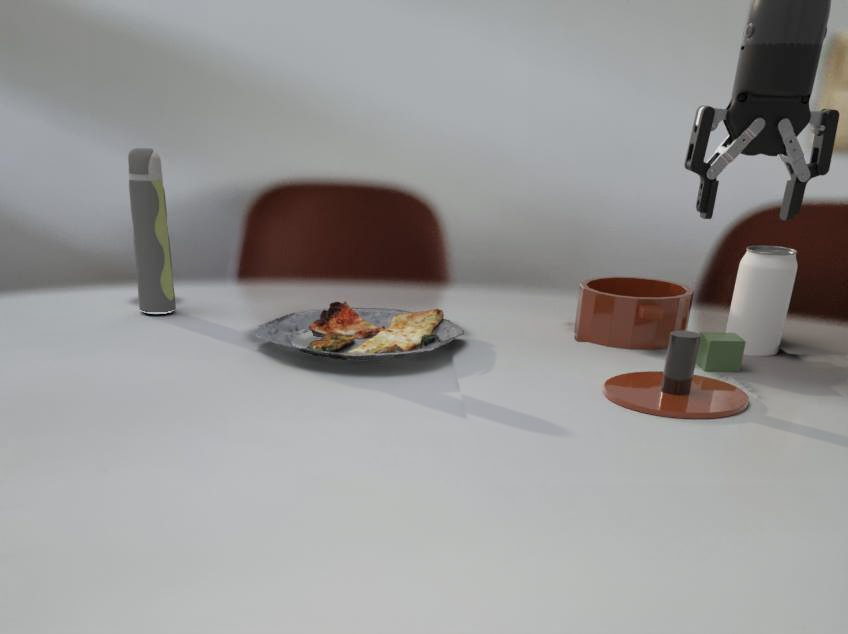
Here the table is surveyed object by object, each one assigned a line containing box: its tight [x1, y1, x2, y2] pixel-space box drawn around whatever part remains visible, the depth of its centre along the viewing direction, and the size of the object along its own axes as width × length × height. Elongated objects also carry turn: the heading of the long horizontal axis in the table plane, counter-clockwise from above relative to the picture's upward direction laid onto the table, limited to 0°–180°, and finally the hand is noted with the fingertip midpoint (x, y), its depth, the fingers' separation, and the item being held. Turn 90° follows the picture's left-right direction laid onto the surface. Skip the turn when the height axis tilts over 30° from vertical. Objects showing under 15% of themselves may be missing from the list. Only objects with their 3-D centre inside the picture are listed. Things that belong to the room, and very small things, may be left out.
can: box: [725, 245, 799, 357], centre depth 116 cm, size 6×6×12 cm
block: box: [695, 331, 746, 373], centre depth 111 cm, size 4×4×4 cm
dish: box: [573, 275, 695, 351], centre depth 122 cm, size 14×19×6 cm
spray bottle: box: [127, 147, 177, 312], centre depth 128 cm, size 5×5×20 cm
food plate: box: [254, 300, 464, 364], centre depth 118 cm, size 25×23×4 cm
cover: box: [602, 330, 750, 420], centre depth 100 cm, size 15×15×7 cm
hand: (745, 219), depth 103 cm, fingers open, 8 cm apart
